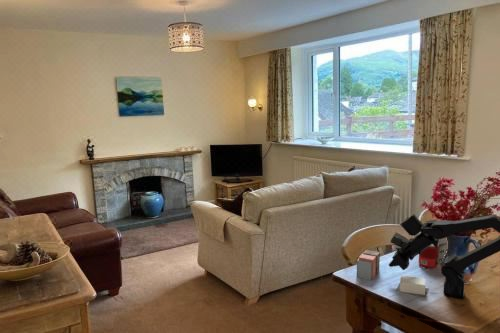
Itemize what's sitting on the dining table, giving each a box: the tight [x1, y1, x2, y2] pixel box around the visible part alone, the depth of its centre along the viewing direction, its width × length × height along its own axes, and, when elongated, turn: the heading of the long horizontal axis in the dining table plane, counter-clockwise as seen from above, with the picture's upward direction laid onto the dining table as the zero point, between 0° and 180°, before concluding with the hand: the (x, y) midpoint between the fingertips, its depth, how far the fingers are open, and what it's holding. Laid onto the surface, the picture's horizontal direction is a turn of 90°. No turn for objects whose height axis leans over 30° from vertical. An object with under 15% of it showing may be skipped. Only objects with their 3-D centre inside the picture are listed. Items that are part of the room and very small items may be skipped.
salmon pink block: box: [358, 253, 376, 280], centre depth 171 cm, size 6×4×9 cm, turn 58°
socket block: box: [356, 250, 372, 281], centre depth 174 cm, size 6×11×8 cm, turn 148°
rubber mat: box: [395, 282, 430, 299], centre depth 159 cm, size 11×8×1 cm
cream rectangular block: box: [399, 275, 426, 295], centre depth 158 cm, size 9×6×4 cm, turn 68°
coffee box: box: [424, 219, 447, 260], centre depth 191 cm, size 9×6×16 cm
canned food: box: [418, 244, 439, 270], centre depth 180 cm, size 8×8×11 cm
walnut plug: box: [362, 249, 381, 275], centre depth 175 cm, size 6×4×9 cm, turn 58°
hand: (389, 265), depth 166 cm, fingers closed
